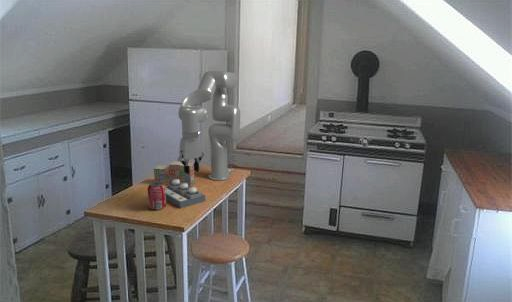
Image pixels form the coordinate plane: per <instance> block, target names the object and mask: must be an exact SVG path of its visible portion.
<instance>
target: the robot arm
mask: <svg viewBox="0 0 512 302" xmlns="http://www.w3.org/2000/svg"><path fill="white" fill-rule="evenodd" d="M237 86H238V76H237V74H236V73H234V72H230V71H225V70H208V71H206V72H205V73H204V74H203V76H202V77H201V80H200V82H199V84H198V86H197V89H195V90H194V91H192V92H191V93H189V94H188V95H187V96H186V97H184V98H183V100H182V102H181V104H180V106H179V109H178V113H177V114H178V115H177V116H178V118H179V119H180V120H181V136H182V138H180V141H179V155H178V158H177V162H181V163H182V164H183V165H184V171H185V173H187V174H189V166H188V162H189V163H190V161H189V160H194V162H193V163H194V172H198V173H199V171H200V163H201V161H202V159H203V158H204V157H205V154H204V152H203V151H202V149H203V148H202V142H201V139H200V136H199V135H200V134H201V131H199V123H204V122H206V121H207V120H208V118H209V111H208V108H206V107H205V106H198V105H199V104H203V103H205V102H209V101H210V100H212V108H211V109H212V110H211V117H212V119H213V120H214V121H216V122H224V123H213V124H210V126H209V127H208V130H207V131H208V138H209V142H210V143H209V145H210V174H208V178H209V179H210V180H212V181H225V180H229V179H230V178H231V174H230V173H233V172H235V169H234V168H228V147H227V143H226V142H237V141H238V140H239V137H240V131H241V129H240V128H241V127H240V125H241V109H240V107H239V106H237V105H235V104H234V105H233V104H229V102H228V101H229V96H228V93H227V91H226V89H232V90H233V89H235V88H236V87H237ZM225 122H226V124H225ZM228 122H229V123H230V124H229V123H228Z"/></svg>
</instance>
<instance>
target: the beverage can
mask: <svg viewBox="0 0 512 302" xmlns="http://www.w3.org/2000/svg"><path fill="white" fill-rule="evenodd" d="M165 187H166V185H163V182H161V181H155V180H154V181H151V182H149V183H148V185H147V202H148V204H147V205H148V208H149V209H150V210H152V211H161V210H163V209H164V208H165V207H166V206H167V200H166V196H165Z"/></svg>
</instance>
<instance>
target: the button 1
mask: <svg viewBox="0 0 512 302" xmlns="http://www.w3.org/2000/svg"><path fill="white" fill-rule="evenodd" d="M179 184H180V180H179V179H174V180H172V185H179Z"/></svg>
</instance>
